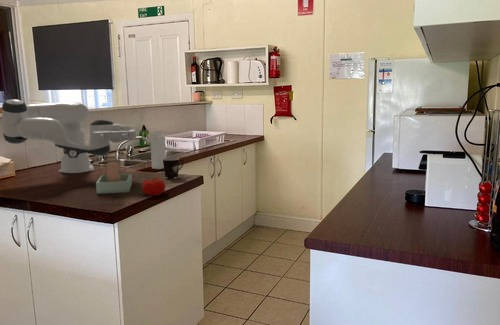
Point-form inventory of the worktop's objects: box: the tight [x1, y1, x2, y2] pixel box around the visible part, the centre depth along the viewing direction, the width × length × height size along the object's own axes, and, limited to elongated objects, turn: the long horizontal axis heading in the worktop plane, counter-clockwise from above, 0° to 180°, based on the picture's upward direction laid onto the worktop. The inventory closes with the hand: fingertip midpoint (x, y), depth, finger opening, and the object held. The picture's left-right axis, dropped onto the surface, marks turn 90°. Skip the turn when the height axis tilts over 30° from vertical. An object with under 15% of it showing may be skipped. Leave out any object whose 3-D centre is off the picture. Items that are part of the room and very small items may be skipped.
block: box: [107, 158, 122, 181], centre depth 196 cm, size 5×5×12 cm
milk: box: [150, 130, 167, 170], centre depth 243 cm, size 6×6×22 cm
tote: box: [95, 173, 133, 195], centre depth 193 cm, size 18×14×5 cm
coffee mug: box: [163, 157, 184, 178], centre depth 216 cm, size 12×9×10 cm
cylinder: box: [106, 162, 119, 182], centre depth 188 cm, size 5×5×12 cm
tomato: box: [142, 177, 166, 197], centre depth 182 cm, size 10×11×6 cm
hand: (113, 136), depth 193 cm, fingers open, 8 cm apart
